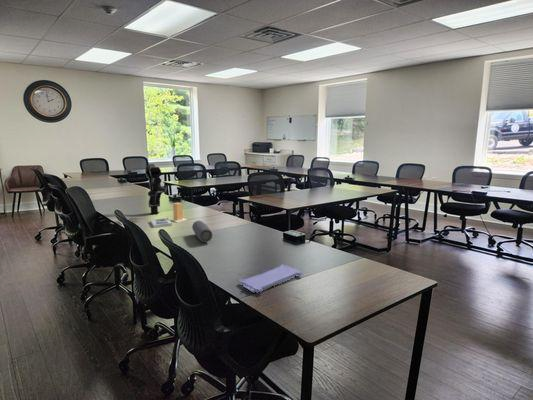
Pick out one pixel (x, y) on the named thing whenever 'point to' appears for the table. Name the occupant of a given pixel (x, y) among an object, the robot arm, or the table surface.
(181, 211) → the module
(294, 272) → the light purple flat block
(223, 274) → the table surface
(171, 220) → the pad
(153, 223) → the dock
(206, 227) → the bluetooth speaker
